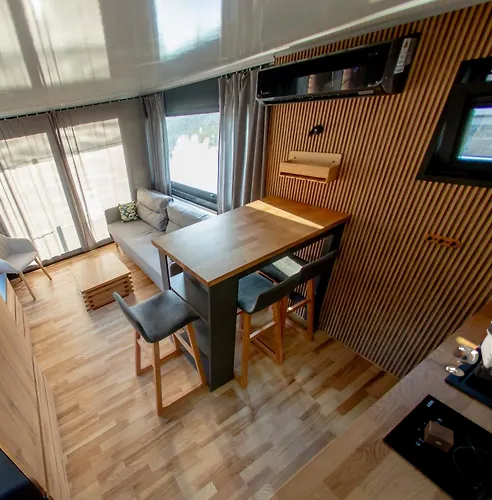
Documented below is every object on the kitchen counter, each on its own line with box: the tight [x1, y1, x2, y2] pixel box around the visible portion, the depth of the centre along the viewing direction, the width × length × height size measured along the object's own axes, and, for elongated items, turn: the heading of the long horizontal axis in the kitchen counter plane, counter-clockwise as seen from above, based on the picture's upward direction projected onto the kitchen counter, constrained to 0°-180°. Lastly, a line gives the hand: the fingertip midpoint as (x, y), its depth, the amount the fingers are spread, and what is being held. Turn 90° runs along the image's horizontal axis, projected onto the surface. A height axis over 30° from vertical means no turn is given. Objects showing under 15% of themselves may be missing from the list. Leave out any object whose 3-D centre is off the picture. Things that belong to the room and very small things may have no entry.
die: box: [423, 420, 454, 453], centre depth 81 cm, size 5×5×5 cm
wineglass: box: [446, 344, 479, 377], centre depth 97 cm, size 6×6×12 cm
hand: (482, 376), depth 77 cm, fingers closed
